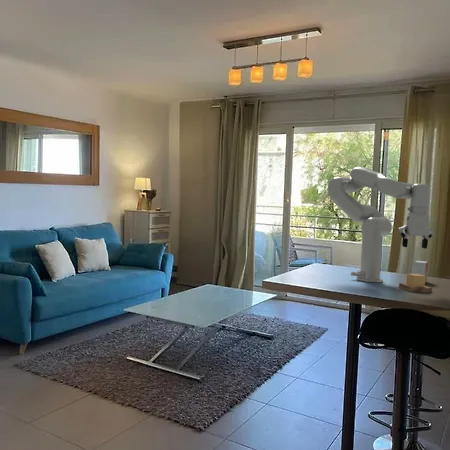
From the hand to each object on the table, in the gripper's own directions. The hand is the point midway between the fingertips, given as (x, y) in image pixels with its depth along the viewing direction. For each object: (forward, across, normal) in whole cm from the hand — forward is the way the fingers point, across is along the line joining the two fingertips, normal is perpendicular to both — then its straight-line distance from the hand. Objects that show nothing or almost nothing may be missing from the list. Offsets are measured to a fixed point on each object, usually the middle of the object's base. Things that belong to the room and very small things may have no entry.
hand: (414, 247), depth 211 cm
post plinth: (+19, 0, -5) cm, 20 cm away
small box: (+20, +15, +17) cm, 30 cm away
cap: (+17, 0, -4) cm, 18 cm away
